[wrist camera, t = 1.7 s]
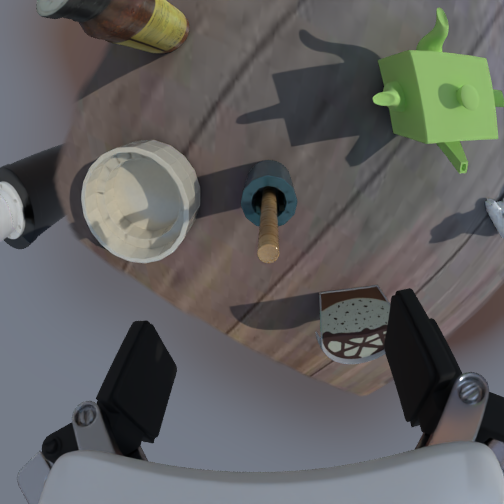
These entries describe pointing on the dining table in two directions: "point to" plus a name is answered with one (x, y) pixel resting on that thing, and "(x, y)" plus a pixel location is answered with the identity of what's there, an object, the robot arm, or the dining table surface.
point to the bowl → (141, 200)
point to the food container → (353, 324)
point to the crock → (274, 177)
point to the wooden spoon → (268, 227)
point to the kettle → (440, 95)
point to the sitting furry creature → (496, 214)
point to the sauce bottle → (124, 21)
